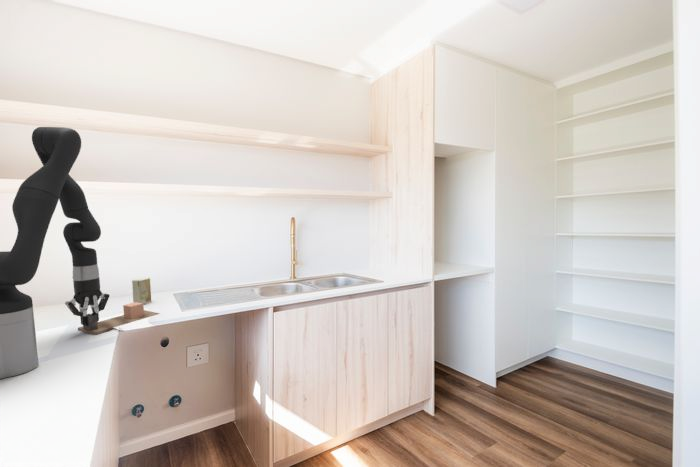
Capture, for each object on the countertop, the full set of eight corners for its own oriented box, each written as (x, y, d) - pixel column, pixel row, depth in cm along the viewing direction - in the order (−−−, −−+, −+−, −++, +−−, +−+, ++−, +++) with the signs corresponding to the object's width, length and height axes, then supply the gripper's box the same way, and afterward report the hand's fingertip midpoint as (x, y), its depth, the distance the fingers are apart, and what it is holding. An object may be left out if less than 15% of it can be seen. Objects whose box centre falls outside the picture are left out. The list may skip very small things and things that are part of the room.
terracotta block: (131, 319, 137) (130, 306, 136) (124, 317, 139) (123, 305, 139) (144, 315, 141) (143, 303, 141) (136, 313, 144) (136, 302, 143)
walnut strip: (94, 335, 122) (93, 319, 122) (77, 329, 128) (76, 314, 128) (160, 315, 143) (159, 301, 143) (142, 311, 149) (142, 298, 149)
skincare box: (141, 307, 156) (139, 280, 155) (133, 307, 156) (131, 280, 155) (152, 303, 162) (150, 277, 161) (144, 303, 163) (142, 277, 162)
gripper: (68, 282, 117) (73, 332, 119) (112, 274, 129) (116, 320, 131) (57, 280, 121) (62, 329, 122) (102, 273, 133) (105, 317, 134)
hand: (90, 324), depth 127 cm, fingers closed on walnut strip, 2 cm apart
